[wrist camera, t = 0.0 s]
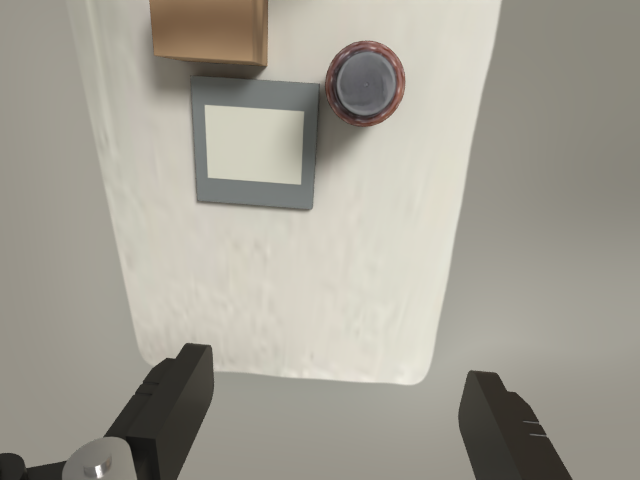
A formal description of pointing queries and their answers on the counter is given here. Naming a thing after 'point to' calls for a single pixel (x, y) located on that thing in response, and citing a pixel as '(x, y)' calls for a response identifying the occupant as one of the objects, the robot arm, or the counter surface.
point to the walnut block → (211, 30)
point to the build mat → (255, 141)
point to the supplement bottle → (365, 83)
